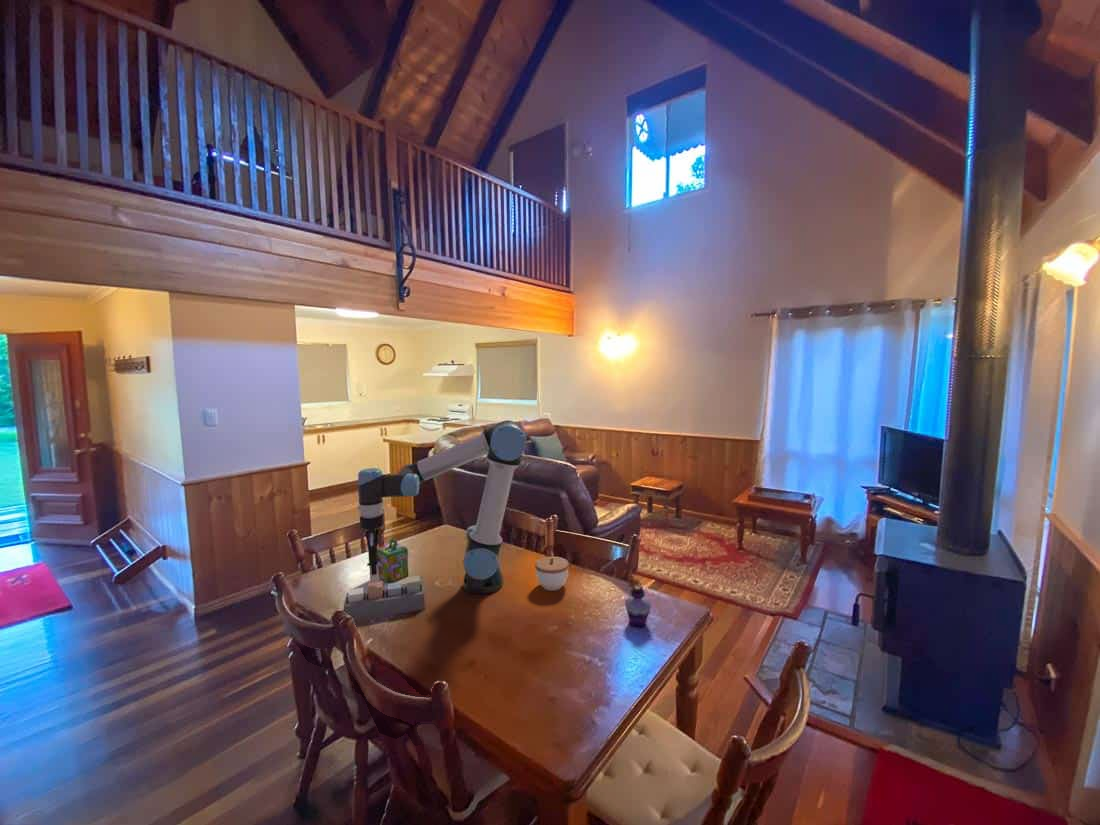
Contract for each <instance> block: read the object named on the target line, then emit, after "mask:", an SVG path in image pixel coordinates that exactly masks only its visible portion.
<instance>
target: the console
mask: <svg viewBox="0 0 1100 825" xmlns="http://www.w3.org/2000/svg"><path fill="white" fill-rule="evenodd" d="M401 589H402V595H395V596H389V597H388V586H383V598H377V599H370V600H369V599H368V589H363V591H364V601H358V602H351V603H348V594H349V592H346V595H345V600H344V603H343V613H344V612H345V613H347V614H348V615H350V616H351V617H352V618H353V619H354V621H353V622H359V621H363V620H364V619H365V620H369V618H370V619H375V618H381V617H387V616H394V615H398V614H399V615H400V614H405V613H409V612H415V611H416V612H417V611H421V610H422V611H423V610H425V609H426V608H425V607H426V604H425V587H424V581H422V580H420V592H414V593H408V594H407V583H401ZM365 620H364V621H365Z"/></svg>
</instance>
